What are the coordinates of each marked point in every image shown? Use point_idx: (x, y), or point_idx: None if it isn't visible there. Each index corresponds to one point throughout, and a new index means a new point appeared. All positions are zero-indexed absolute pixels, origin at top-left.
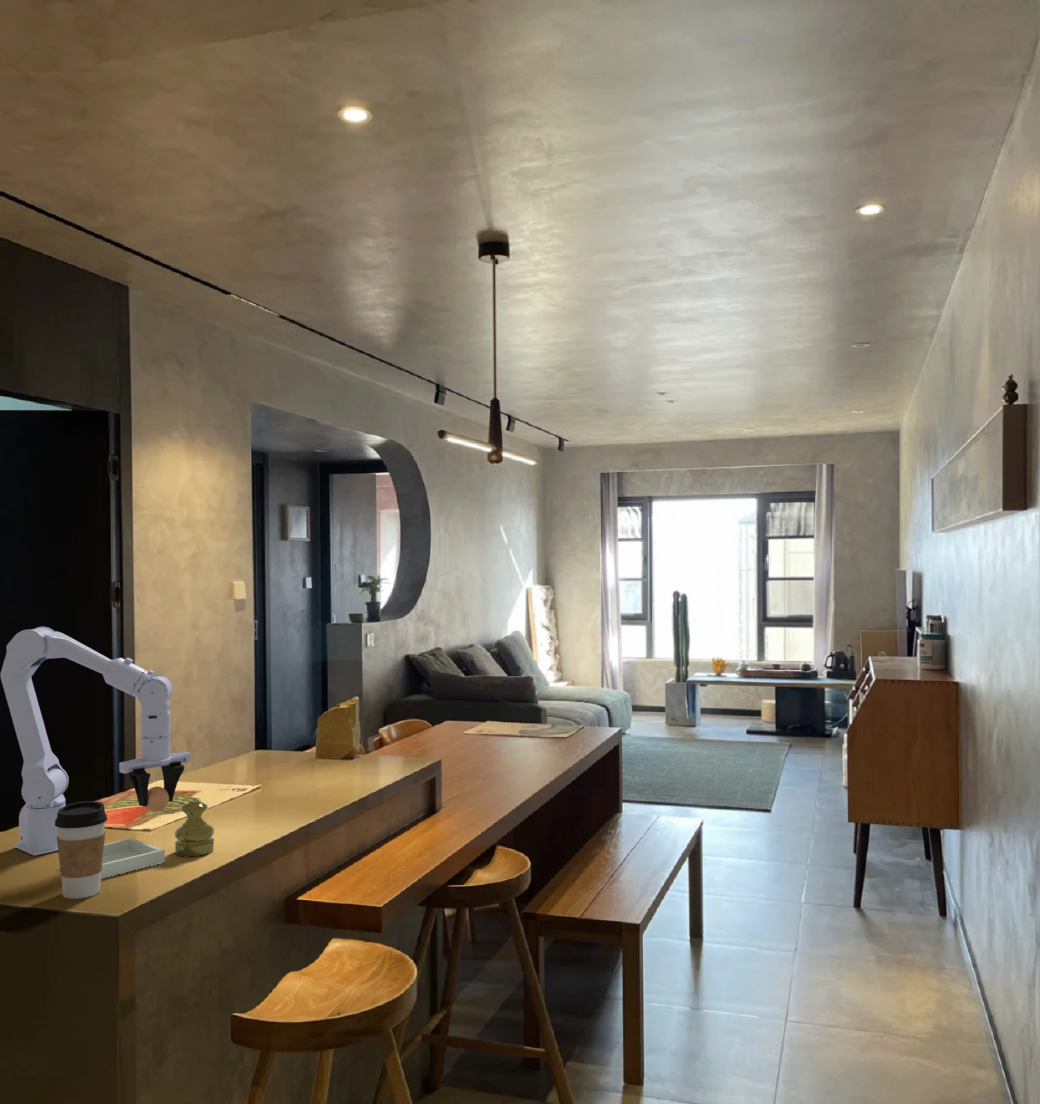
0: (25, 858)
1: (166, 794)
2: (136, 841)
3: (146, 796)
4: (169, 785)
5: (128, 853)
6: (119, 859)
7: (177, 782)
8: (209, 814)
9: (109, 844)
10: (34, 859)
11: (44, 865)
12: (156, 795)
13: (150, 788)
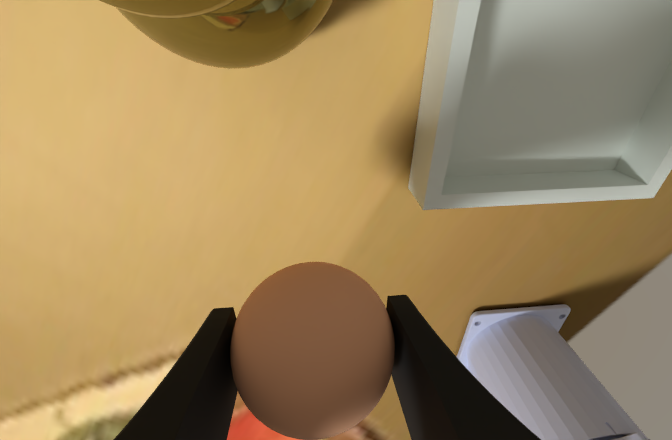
0: (582, 303)
1: (263, 332)
2: (446, 149)
3: (421, 341)
4: (201, 425)
5: (460, 137)
6: (533, 85)
7: (118, 435)
8: (46, 364)
9: (520, 191)
10: (583, 286)
11: (623, 227)
12: (352, 330)
13: (354, 424)
